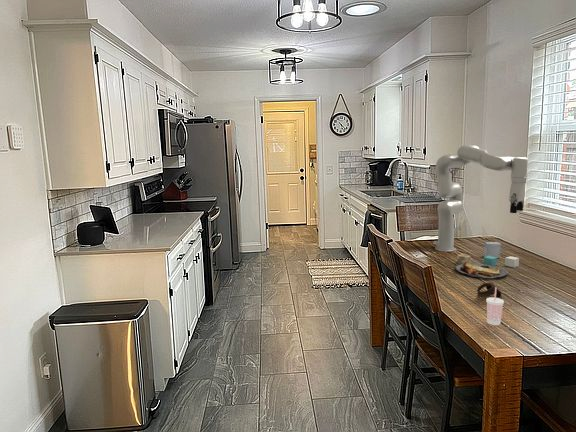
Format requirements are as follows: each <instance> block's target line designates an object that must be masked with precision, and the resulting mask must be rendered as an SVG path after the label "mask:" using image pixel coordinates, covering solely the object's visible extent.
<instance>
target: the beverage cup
mask: <svg viewBox="0 0 576 432" xmlns="http://www.w3.org/2000/svg"><path fill="white" fill-rule="evenodd" d="M496 289H497V286H496V287H495V294H494V297H491V296H490V297H486V323H488V324H489V325H492V326H499V325H501V321H502V315H503V306H504V304H505V301H504V300H503V298H502V299H500V298H496Z"/></svg>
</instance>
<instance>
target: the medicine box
mask: <svg viewBox="0 0 576 432" xmlns="http://www.w3.org/2000/svg"><path fill="white" fill-rule="evenodd" d="M501 248H502V244H501V243H500V242H492V241H491V242H490V241H489V242H484V247H483V250H484V251H483V258H484V257H486V256H492V257H497V259H500V258H501V250H502V249H501Z"/></svg>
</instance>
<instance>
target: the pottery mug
mask: <svg viewBox="0 0 576 432" xmlns="http://www.w3.org/2000/svg"><path fill="white" fill-rule="evenodd" d="M495 287H497V285H495V284H494V282H485V283H482V284H480V285H478V287H477V290H476V292H477V294H476V296H477V298H478V299H479V298H481V299H482V298H489V297H491V296H494V295H495ZM483 288H486V290H484V291H481V290H482V289H483ZM496 298H500V299H502V300H503V296H502V293H501V290H500V289H499V287H497V289H496Z"/></svg>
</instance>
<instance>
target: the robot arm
mask: <svg viewBox="0 0 576 432" xmlns="http://www.w3.org/2000/svg"><path fill="white" fill-rule="evenodd" d="M469 163H473V164H477V165H480V166H482V167H483V168H486V169H489V170H492V171H496V172H504V171H511V172H510V189H509V198H508V201H509V203H510V205H509V206H510V208H509V213H510V214H517V213H518V212H523V211H524V200H525V192H526V191H525V189H526V186H525V184H527V177H528V166H529V165H528V163H529V159H528V158H527V157H525V156H524V157H522V156H521V157H520V156H518V157H515V156H497V155H492V154H490V153H488V150H486V149H485V148H484V149H483V148H480V147H479V146H478V145H474V144H464V145H461V146H460V147H459V148H458V149H457V153H455V154H454V153H453V154H444V155H442V156H440V157H439V158H438V160H437V161H436V163H435V172H436V175H437V176H436V177H437V178H436V179H437V189H438V195H439V197H440V198H441V199H447V200H443V201H442V200H441V202H440V203H439V204H438V205H437V215H438V230H437V231H438V233H437V240H434V241H433V242H432V245H435V247H434V249H435V250H436V251H439V252H442V253H443V252H445V253H448V252H449V253H450V252H452V253H453V252H456V251H457V248H456V247H455V245H454V244H455V243H454V241H455V223H456V221H455V218H454V215H457V214H460V213H462V212H463V209H464V197H463V189H462V186H461V184H460V183H458V182H454V181H453V175H452V174H451V171H450V169H459V168H460V169H461V168H463V167H465V166H467V165H468V164H469Z"/></svg>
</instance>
